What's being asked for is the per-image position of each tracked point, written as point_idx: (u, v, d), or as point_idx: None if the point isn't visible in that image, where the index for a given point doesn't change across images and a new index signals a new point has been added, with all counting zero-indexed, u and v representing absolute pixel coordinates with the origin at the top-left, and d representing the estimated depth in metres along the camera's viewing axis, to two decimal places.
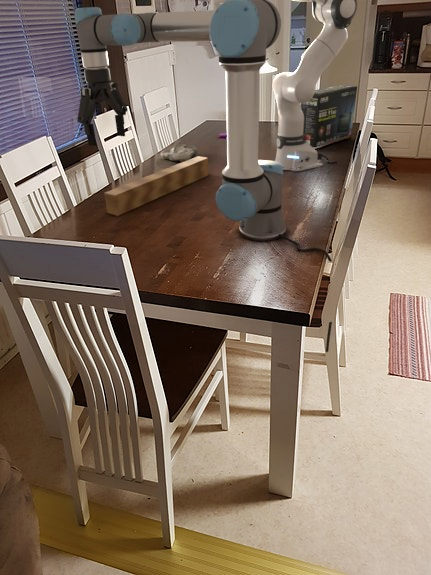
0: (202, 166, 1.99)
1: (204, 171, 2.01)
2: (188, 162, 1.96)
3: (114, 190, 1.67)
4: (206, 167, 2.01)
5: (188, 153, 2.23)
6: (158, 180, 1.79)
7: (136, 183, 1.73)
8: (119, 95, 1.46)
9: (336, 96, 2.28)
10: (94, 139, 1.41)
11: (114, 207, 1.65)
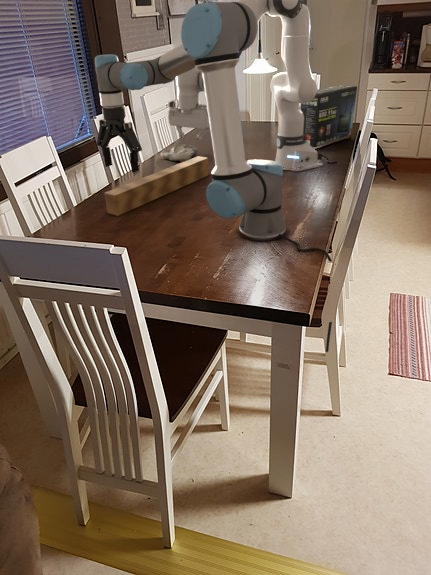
0: (202, 166, 1.99)
1: (204, 171, 2.01)
2: (188, 162, 1.96)
3: (114, 190, 1.67)
4: (206, 167, 2.01)
5: (188, 153, 2.23)
6: (158, 180, 1.79)
7: (136, 183, 1.73)
8: (128, 135, 1.54)
9: (336, 96, 2.28)
10: (105, 161, 1.67)
11: (114, 207, 1.65)
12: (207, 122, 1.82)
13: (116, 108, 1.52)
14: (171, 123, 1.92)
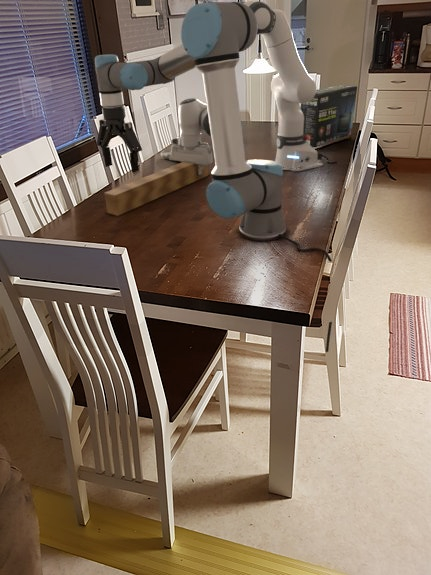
0: None
1: (204, 171, 2.00)
2: (188, 162, 1.96)
3: (114, 190, 1.67)
4: (206, 167, 2.01)
5: None
6: (158, 180, 1.79)
7: (136, 183, 1.73)
8: (128, 135, 1.54)
9: (336, 96, 2.28)
10: (105, 161, 1.67)
11: (114, 207, 1.65)
12: (209, 159, 1.89)
13: (116, 108, 1.52)
14: (174, 158, 1.99)
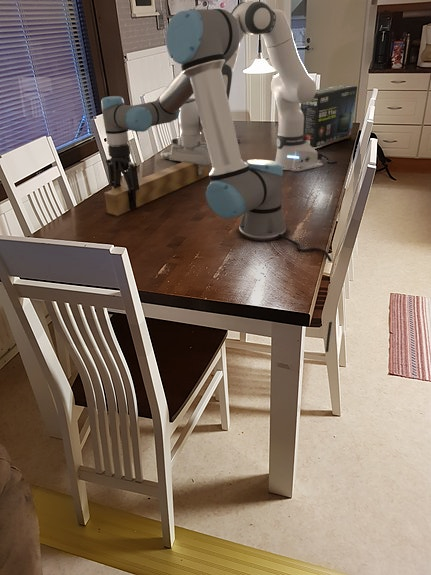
0: None
1: (204, 171, 2.01)
2: (188, 162, 1.96)
3: (114, 190, 1.67)
4: (206, 167, 2.01)
5: None
6: (158, 180, 1.79)
7: None
8: (131, 175, 1.62)
9: (336, 96, 2.28)
10: None
11: (114, 207, 1.65)
12: (209, 159, 1.89)
13: (121, 146, 1.58)
14: (174, 158, 1.99)
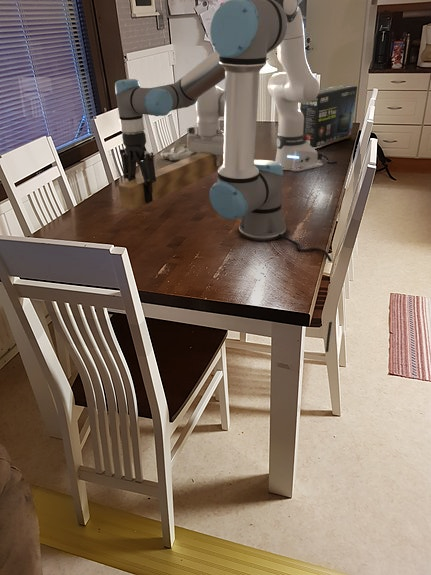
0: None
1: (221, 163, 1.88)
2: None
3: (129, 182, 1.54)
4: None
5: (188, 153, 2.23)
6: (175, 172, 1.66)
7: None
8: (147, 165, 1.50)
9: (336, 96, 2.28)
10: None
11: (129, 201, 1.53)
12: None
13: (137, 134, 1.46)
14: (190, 149, 1.87)
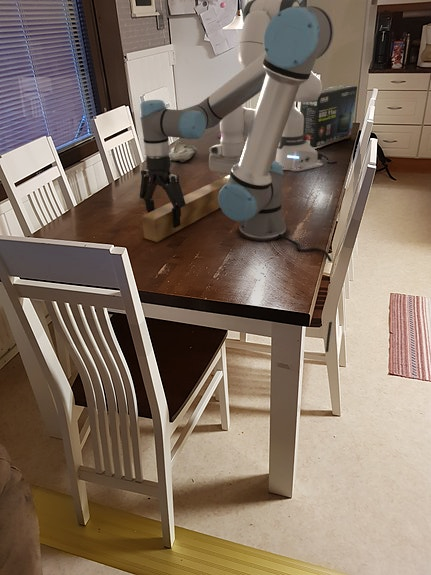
0: None
1: None
2: (228, 177, 1.75)
3: (152, 213, 1.47)
4: None
5: (188, 153, 2.23)
6: (200, 200, 1.58)
7: None
8: (174, 189, 1.40)
9: (336, 96, 2.28)
10: None
11: (153, 233, 1.45)
12: None
13: (162, 158, 1.37)
14: (212, 169, 1.78)
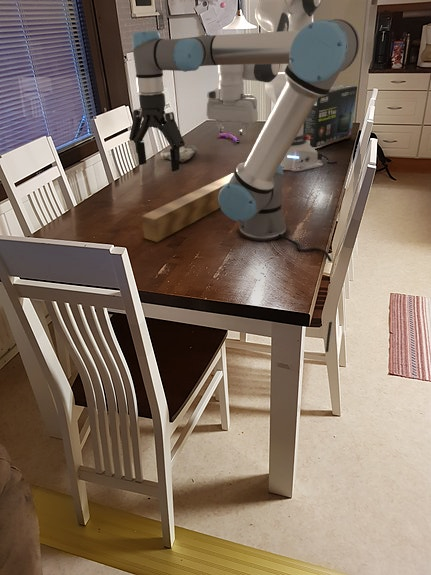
0: None
1: None
2: (228, 177, 1.75)
3: (152, 213, 1.47)
4: None
5: (188, 153, 2.23)
6: (200, 200, 1.58)
7: (175, 203, 1.53)
8: (170, 127, 1.30)
9: (336, 96, 2.28)
10: (139, 158, 1.43)
11: (153, 233, 1.45)
12: (254, 115, 1.58)
13: (156, 95, 1.28)
14: (210, 117, 1.68)
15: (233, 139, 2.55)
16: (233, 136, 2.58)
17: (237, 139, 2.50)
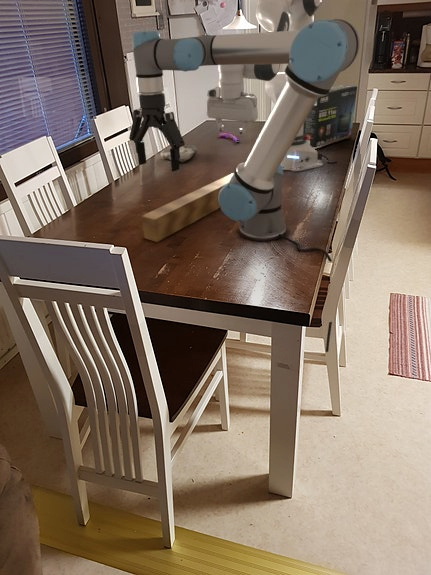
0: None
1: None
2: (228, 177, 1.75)
3: (152, 213, 1.47)
4: None
5: (188, 153, 2.23)
6: (200, 200, 1.58)
7: (175, 203, 1.53)
8: (170, 127, 1.30)
9: (336, 96, 2.28)
10: (138, 158, 1.43)
11: (153, 233, 1.45)
12: (254, 113, 1.58)
13: (156, 95, 1.28)
14: (210, 115, 1.67)
15: (233, 139, 2.55)
16: (233, 136, 2.58)
17: (237, 139, 2.50)
